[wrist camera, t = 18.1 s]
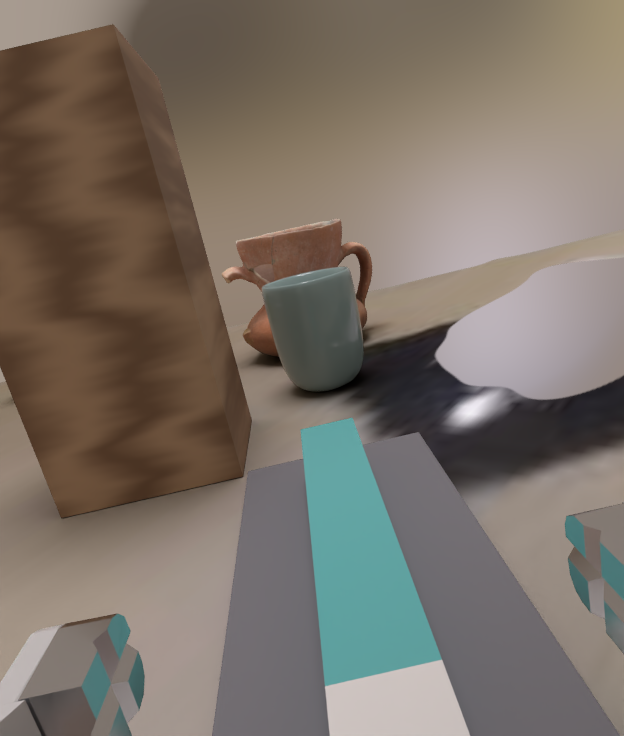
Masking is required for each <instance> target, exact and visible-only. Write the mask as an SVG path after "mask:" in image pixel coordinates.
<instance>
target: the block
mask: <svg viewBox="0 0 624 736" xmlns="http://www.w3.org/2000/svg"><path fill="white" fill-rule="evenodd" d="M301 439H302V450H303V460H304V471H305V481H306V492H307V502H308V513H309V523H310V534H311V544H312V555H313V565H314V576H315V586H316V597H317V607H318V618H319V628H320V639H321V649H322V660H323V670H324V681H325V691H326V702H327V712H328V723H329V733H330V736H470V734H469V731H468V728H467V726H466V723H465V720H464V717H463V715H462V712H461V709H460V707H459V704H458V701H457V699H456V696H455V693H454V691H453V688H452V685H451V682H450V680H449V677H448V674H447V672H446V669H445V666H444V664H443V661H442V658H441V655H440V653H439V650H438V647H437V645H436V642H435V639H434V637H433V634H432V631H431V629H430V626H429V623H428V620H427V618H426V615H425V612H424V610H423V607H422V604H421V602H420V599H419V596H418V594H417V591H416V588H415V585H414V583H413V580H412V577H411V575H410V572H409V569H408V567H407V564H406V561H405V559H404V556H403V553H402V550H401V548H400V545H399V542H398V540H397V537H396V534H395V532H394V529H393V526H392V523H391V521H390V518H389V515H388V513H387V510H386V507H385V505H384V502H383V499H382V497H381V494H380V491H379V488H378V486H377V483H376V480H375V478H374V475H373V472H372V470H371V467H370V464H369V462H368V459H367V456H366V453H365V451H364V448H363V445H362V443H361V440H360V437H359V435H358V432H357V429H356V427H355V424H354V421H353V418H349V419H345V420H340V421H336V422H332V423H327V424H323V425H319V426H314V427H310V428H306V429H301Z"/></svg>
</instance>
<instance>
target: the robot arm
mask: <svg viewBox="0 0 624 736" xmlns="http://www.w3.org/2000/svg"><path fill="white" fill-rule="evenodd" d="M565 531H566V537H567V538H568V539H569V540H570V542H571V543H572V544H573V545H574V546H575V547H574V548H573V550H572V552H571V553H570V555H569V557H568V562H569V569H570V575H571V578H572V581H573V584H574V587H575V589H576V591H577V593H578V595H579V597H580V599H581V600H582V602H583V603H584V605H585V606H586V607H587V608H588V610H589V611H590V612H591V613H592V614H595V615H597V616H599V617H601V618H603V619H605V622H606V633H607V634H608V635H609V636H610V638H611V639H612V640H613V641H614V643H615V644H616V645H617V646H618V648H619V649H620V650H621V651H622V653H623V654H624V502H622V504H618V505H614V506H609V507H605V508H600V509H596V510H592V511H587V512H583V513H578V514H574V515H569V516H567V517H566V522H565ZM129 634H130V629H129V627H128V624H127V622H126V620H125V617H124V616H122V615H120V614H113V615H108V616H103V617H98V618H92V619H87V620H82V621H77V622H72V623H67V624H65V625H57V626H53V627H48V628H43V629H39V630H37V631H36V632H34V633H32V634H31V635H30V637H29V638H28V640H27V641H26V643H25V645H24V646H23V648H22V649H21V651H20V653H19V654H18V656H17V657H16V659H15V660H14V662H13V664H12V665H11V667H10V668H9V670H8V671H7V673H6V675H5V676H4V678H3V679H2V681H1V683H0V736H132V735H131V732H130V730H129V727H128V725H127V723H128V722H129V721H130V720H131V719H132V718H133V717H134V716H135V714H136V713H137V712H138V711H139V709H140V706H141V702H142V698H143V695H144V677H145V676H144V670H143V664H142V661H141V658H140V655H139V652H138V651H137V650H135V649H134V648H133V647H131V646H130V645H128V644H127V643H126V642H127V639H128V637H129Z"/></svg>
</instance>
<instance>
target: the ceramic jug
mask: <svg viewBox="0 0 624 736" xmlns="http://www.w3.org/2000/svg"><path fill="white" fill-rule="evenodd" d="M341 238H342V226H341V220H340V219H333V220H331V221H328V222H319V223H315V224H309V225H305V226H301V227H297V228H291V229H286V230H284V231H283V230H282V231H277V232H274V233H269V234H265V235H261V236H257V237H252V238H249V239H244V240H239V241H236V246H237V250H238V252H239V255H240V257H241V260H242V262H243V267H232V268H229V269H227V270H225V271H224V272H223V273H222V276H223V278H224V279H225V280H226V282H227V283H230V282H231V281H233V280H235V279H244V280H247V281H249V282H252V283H254V284H256V285H257V286H258V287H259V289H260V290H261V291H262V286H264V285H265V284H268V283H270V282H273V281H276V280H279V279H283V278H286V277H290V276H294V275H297V274H301V273H306V272H310V271H315V270H321V269H326V268H334V267H338V265H339V264H340V262H341V261H342V260H343V259H344V257H346V256H347V255H350V254H356V256H357V258H358V260H359V263H360V281H359V286H358V291H357V294H356V299H357V304H358V310H359V315H360V321H361V327H362V328H363V327H364V326H365V324H366V321H367V311H366V308H365V298H366V295H367V292H368V289H369V285H370V281H371V276H372V262H371V257H370V254H369V252H368V250H367V249H366V248H365V247H364V246H363V245H362V244H360V243H356V242H349V243H346V244H344V245H343V246H341ZM243 337H244V339H245V341H246V342H247V343H248V344H249V345H251V346H252V347H253V348H255V349H256V350H258V351H259V352H261V353H264V354H267V355H272V356H278V357H279V355H278V353H277V350H276V346H275V343H274V340H273V336H272V332H271V329H270V325H269V321H268V317H267V313H266V309H265V305H263V307H262V308H261V309H260V310H259V311H258V312H257V314H256V315H255V316H254V317H253V318H252V319H251V321H250V323H249V325H248V328H247V329H246V330H245V331H244V333H243Z"/></svg>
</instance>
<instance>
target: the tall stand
mask: <svg viewBox="0 0 624 736" xmlns="http://www.w3.org/2000/svg"><path fill="white" fill-rule="evenodd" d="M0 367H1V370H2V372H3V375H4V377H5V380H6V382H7V385H8V387H9V390H10V392H11V395H12V397H13V400H14V402H15V405H16V407H17V410H18V412H19V415H20V417H21V419H22V422H23V424H24V427H25V429H26V432H27V434H28V437H29V439H30V442H31V444H32V447H33V449H34V452H35V454H36V457H37V459H38V462H39V464H40V467H41V469H42V471H43V474H44V476H45V479H46V481H47V484H48V486H49V489H50V491H51V494H52V496H53V499H54V501H55V504H56V506H57V509H58V511H59V514H60V516H61V518H64V517H69V516H73V515H77V514H82V513H86V512H90V511H95V510H99V509H103V508H108V507H112V506H116V505H121V504H125V503H130V502H134V501H138V500H143V499H147V498H151V497H156V496H160V495H164V494H169V493H173V492H177V491H182V490H186V489H190V488H195V487H199V486H204V485H208V484H212V483H217V482H221V481H225V480H230V479H234V478H238V477H243V474H244V467H245V461H246V454H247V448H248V441H249V435H250V428H251V422H252V419H251V416H250V412H249V408H248V405H247V401H246V397H245V394H244V390H243V387H242V383H241V379H240V376H239V372H238V368H237V365H236V361H235V357H234V354H233V350H232V346H231V343H230V339H229V335H228V332H227V328H226V324H225V321H224V317H223V313H222V310H221V306H220V303H219V299H218V295H217V291H216V288H215V284H214V280H213V277H212V273H211V269H210V266H209V262H208V258H207V255H206V251H205V248H204V244H203V240H202V237H201V233H200V229H199V225H198V222H197V218H196V215H195V211H194V207H193V203H192V200H191V196H190V192H189V189H188V185H187V182H186V178H185V174H184V170H183V167H182V163H181V160H180V156H179V152H178V148H177V145H176V141H175V137H174V134H173V130H172V126H171V123H170V119H169V116H168V112H167V108H166V104H165V101H164V97H163V93H162V90H161V86H160V83H159V79H158V77H157V76H156V75H155V74H154V73H153V71H152V70H151V69H150V68H149V67H148V65H147V64H146V63H145V62H144V61H143V59H142V58H141V57H140V56H139V55H138V53H137V52H136V51H135V50H134V49H133V47H132V46H131V45H130V44H129V43H128V41H127V40H126V39H125V38H124V37H123V35H122V34H121V33H120V32H119V31H118V29H117V28H116V27H115V26H114V25H108V26H104V27H99V28H95V29H91V30H87V31H82V32H78V33H74V34H70V35H65V36H61V37H57V38H53V39H48V40H44V41H40V42H35V43H31V44H27V45H22V46H18V47H14V48H10V49H5V50H2V51H0Z"/></svg>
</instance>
